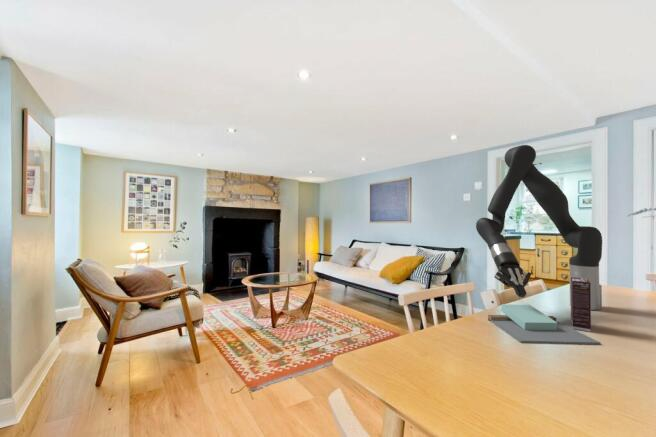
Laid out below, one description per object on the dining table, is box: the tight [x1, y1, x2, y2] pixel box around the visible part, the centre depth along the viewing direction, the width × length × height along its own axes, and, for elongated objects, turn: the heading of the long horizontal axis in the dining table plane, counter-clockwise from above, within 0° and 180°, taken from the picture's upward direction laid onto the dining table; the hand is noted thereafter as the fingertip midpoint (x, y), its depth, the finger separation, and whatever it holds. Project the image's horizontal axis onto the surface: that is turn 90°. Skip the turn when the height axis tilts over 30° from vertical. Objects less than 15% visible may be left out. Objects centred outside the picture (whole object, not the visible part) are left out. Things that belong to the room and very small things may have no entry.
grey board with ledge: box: [487, 314, 602, 346], centre depth 94 cm, size 20×22×2 cm
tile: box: [500, 303, 558, 330], centre depth 100 cm, size 2×10×14 cm
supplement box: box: [570, 277, 592, 333], centre depth 98 cm, size 9×5×16 cm, turn 143°
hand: (522, 296), depth 103 cm, fingers closed
